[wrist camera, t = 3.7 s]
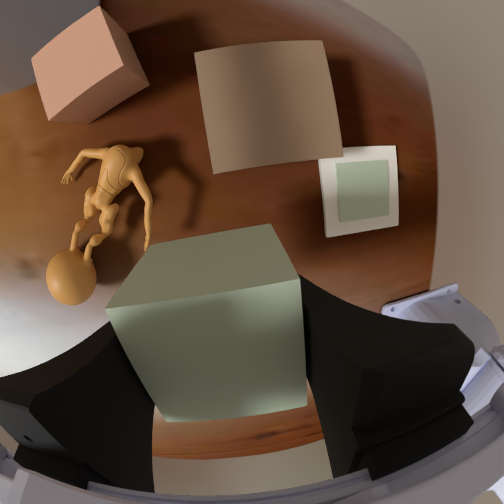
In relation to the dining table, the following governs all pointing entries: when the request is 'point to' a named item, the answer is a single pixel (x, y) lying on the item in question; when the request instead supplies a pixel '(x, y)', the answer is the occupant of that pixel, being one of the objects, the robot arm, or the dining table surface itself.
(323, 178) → the swatch
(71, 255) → the figurine
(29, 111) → the dining table surface
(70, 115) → the terracotta block
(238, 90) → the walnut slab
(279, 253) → the sage block
